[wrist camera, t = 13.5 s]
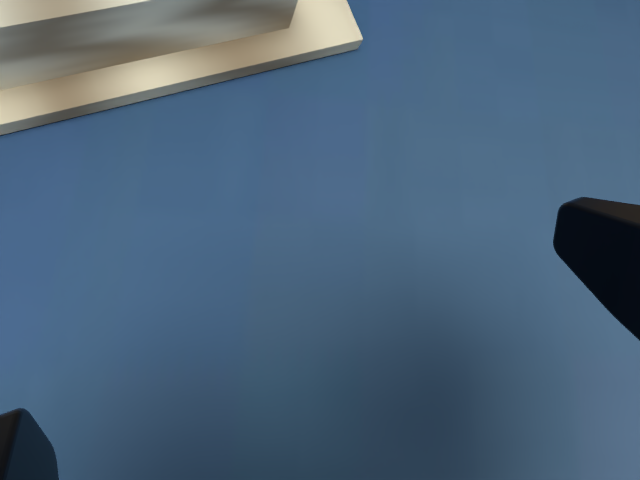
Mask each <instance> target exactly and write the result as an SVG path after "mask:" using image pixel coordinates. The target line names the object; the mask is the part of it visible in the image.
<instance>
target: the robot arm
mask: <svg viewBox="0 0 640 480" xmlns="http://www.w3.org/2000/svg"><path fill="white" fill-rule="evenodd" d="M553 245H554V249H555V251H556V253H557V254H558V256H559V257H560V258H561V259H562V260H563V261H564V262H565V264H566V265H567V266H568V267H569V268H570V269H571V270H572V271H573V272H574V273H575V275H576V276H577V277H578V278H579V279H580V280H581V281H582V282H583V283H584V285H585V286H586V287H587V288H588V289H589V290H590V291H591V292H592V293H593V294H594V296H595V297H596V298H597V299H598V300H599V301H600V302H601V303H602V304H603V305H604V307H605V308H606V309H607V310H608V311H609V312H610V313H611V314H612V315H613V316H614V317H615V318H616V319H617V320H618V321H619V322H620V323H621V324H622V325H623V326H625V327H626V328H627V329H628V330H629V331H630V332H631V333H632V334H633V335H634V336H635V337H636V338H638V339H639V340H640V205H635V204H628V203H621V202H614V201H608V200H601V199H594V198H587V197H581V198H577V199H574V200H572V201H569V202H566V203H564V204H563V205H561V207H560V208H559V210H558V214H557V220H556V227H555V233H554V239H553ZM0 480H59V477H58V469H57V461H56V455H55V452H54V449H53V446H52V444H51V443H50V441H49V440H48V438H47V437H46V435H45V434H44V432H43V431H42V430H41V428H40V427H39V425H38V424H37V422H36V421H35V420H34V418H33V417H32V415H31V414H30V413H29V412H28V411H27V410H26V409H23V408H18V409H15V410H12V411H10V412H7V413H4V414H2V415H0Z"/></svg>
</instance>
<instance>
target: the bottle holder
mask: <svg viewBox="0 0 640 480" xmlns="http://www.w3.org/2000/svg"><path fill="white" fill-rule="evenodd" d="M362 40H363V38H362V35H361V33H360V31H359V28H358V26H357V24H356V21H355V19H354V17H353V14H352V12H351V10H350V7H349V5H348V3H347V0H0V135H4V134H8V133H12V132H16V131H20V130H24V129H28V128H32V127H37V126H41V125H45V124H49V123H53V122H57V121H61V120H66V119H70V118H74V117H78V116H82V115H86V114H90V113H95V112H99V111H103V110H107V109H111V108H115V107H119V106H123V105H128V104H132V103H136V102H140V101H144V100H148V99H152V98H157V97H161V96H165V95H169V94H173V93H177V92H181V91H186V90H190V89H194V88H198V87H202V86H206V85H210V84H214V83H219V82H223V81H227V80H231V79H235V78H239V77H243V76H248V75H252V74H256V73H260V72H264V71H268V70H272V69H277V68H281V67H285V66H289V65H293V64H297V63H301V62H305V61H310V60H314V59H318V58H322V57H326V56H330V55H334V54H339V53H343V52H347V51H351V50H355V49H358V47H359V45H360V44H361V42H362Z"/></svg>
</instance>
